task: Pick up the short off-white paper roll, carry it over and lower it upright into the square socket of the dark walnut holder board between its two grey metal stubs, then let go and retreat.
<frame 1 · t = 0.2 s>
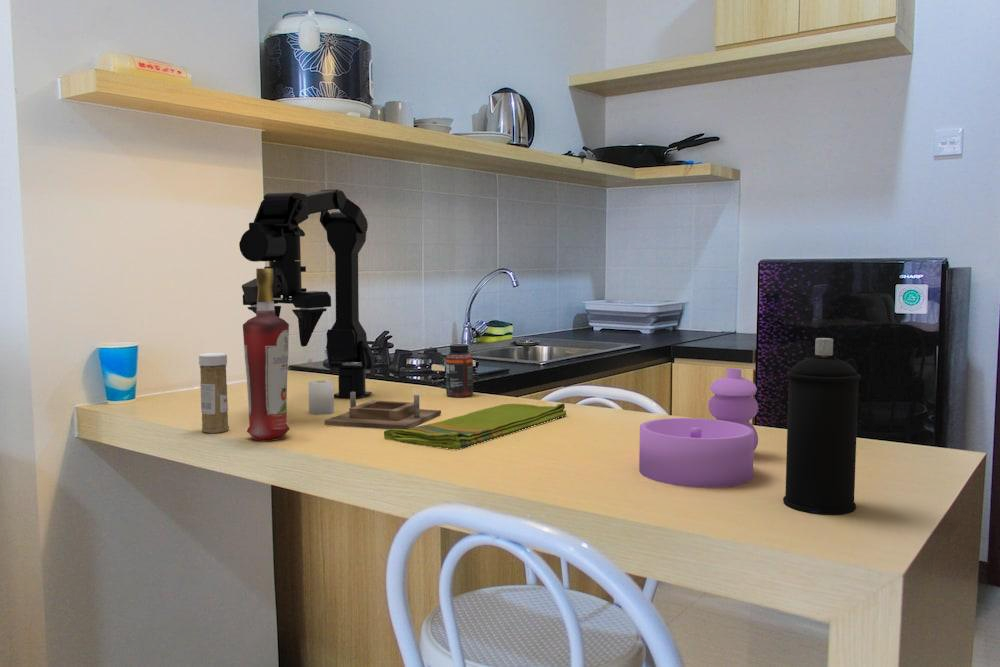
hand: (287, 344, 157), 14 cm above the countertop, fingers open, 9 cm apart
container set: (709, 468, 120), on the countertop
liquor: (268, 438, 140), on the countertop
aerosol can: (819, 506, 101), on the countertop
spice jar: (215, 432, 145), on the countertop
supplement bottle: (459, 396, 184), on the countertop
roll: (321, 412, 164), on the countertop
holder: (384, 419, 156), on the countertop
dish towel: (481, 431, 149), on the countertop
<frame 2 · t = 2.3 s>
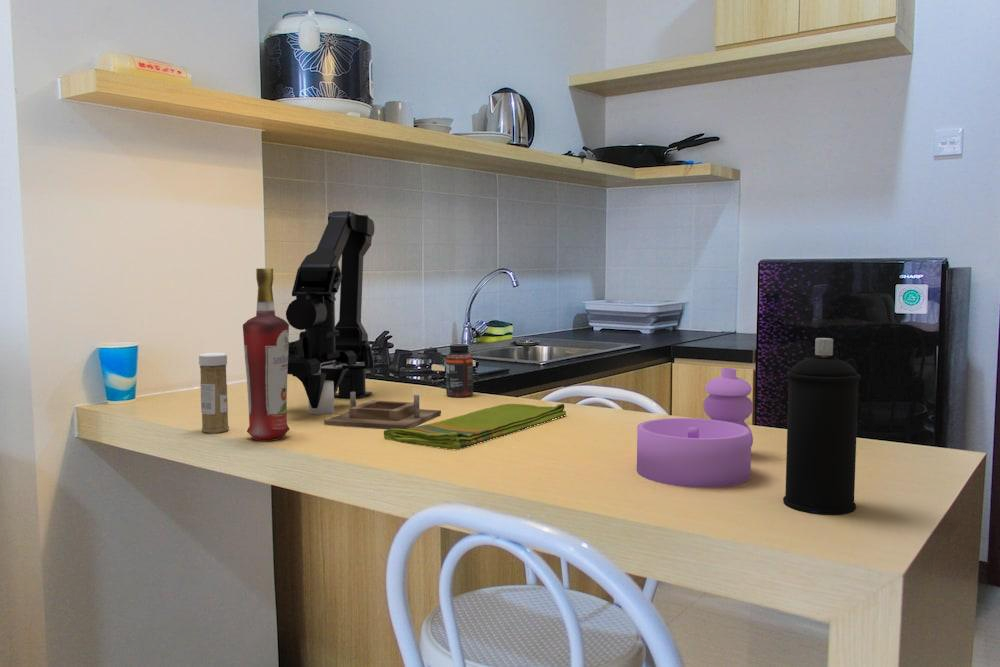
hand: (321, 406, 163), 1 cm above the countertop, fingers closed on roll, 5 cm apart
roll: (321, 412, 164), on the countertop, touching gripper
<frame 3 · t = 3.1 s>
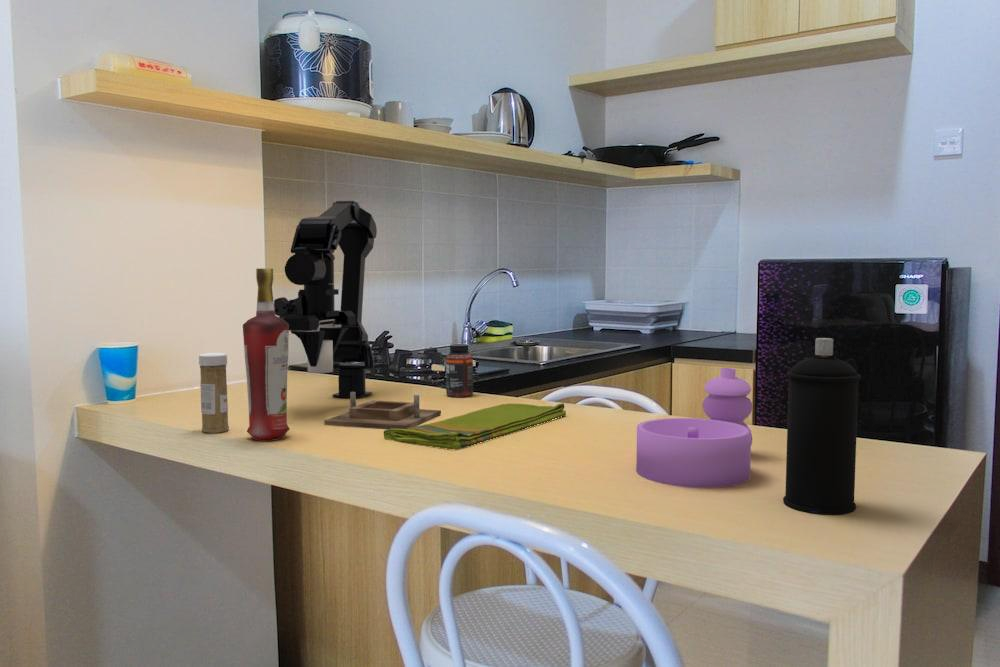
hand: (320, 365, 163), 9 cm above the countertop, fingers closed on roll, 5 cm apart
roll: (320, 371, 163), point 8 cm above the countertop, touching gripper
everything else where it was.
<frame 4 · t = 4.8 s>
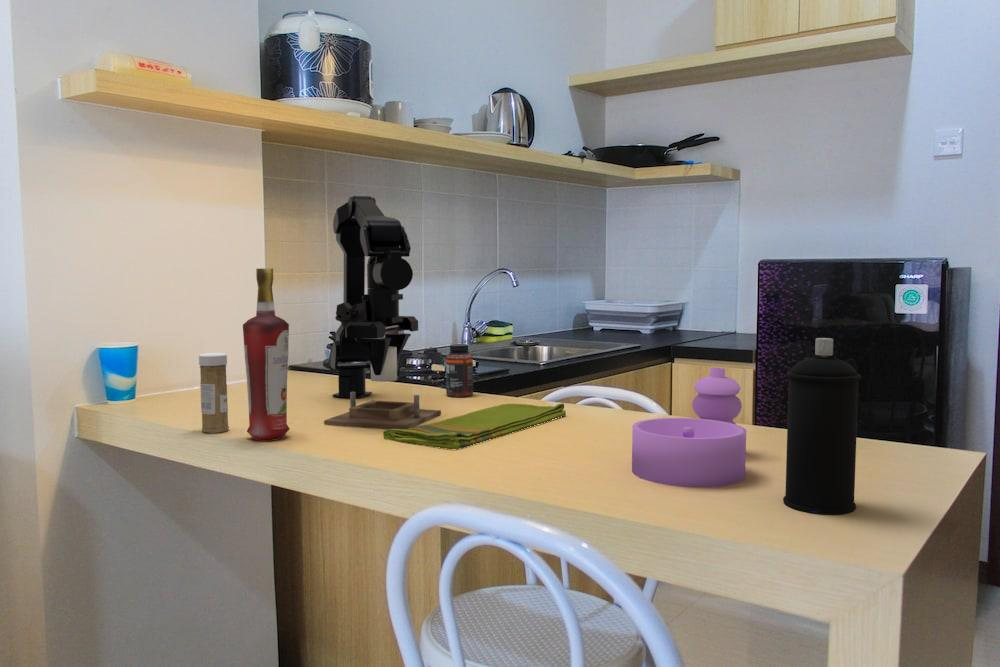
hand: (383, 373, 155), 9 cm above the countertop, fingers closed on roll, 5 cm apart
roll: (383, 379, 156), point 7 cm above the countertop, touching gripper
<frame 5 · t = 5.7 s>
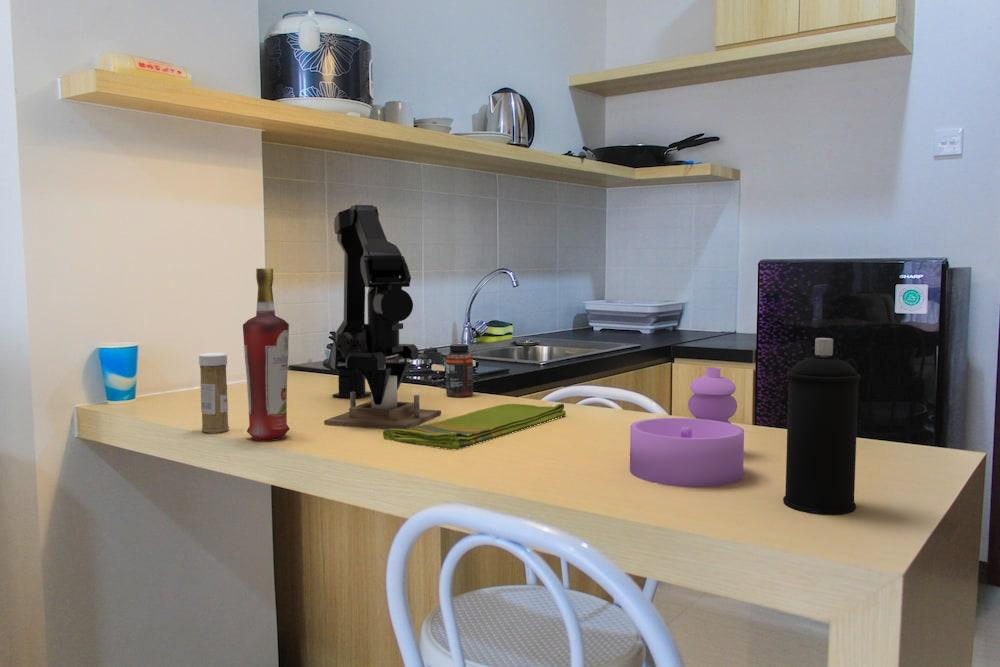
hand: (384, 402, 156), 3 cm above the countertop, fingers closed on roll, 5 cm apart
roll: (384, 408, 156), point 2 cm above the countertop, touching gripper
when the fingers open (3 cm above the countertop, at t = 6.1 s): roll stays where it is, resting on holder.
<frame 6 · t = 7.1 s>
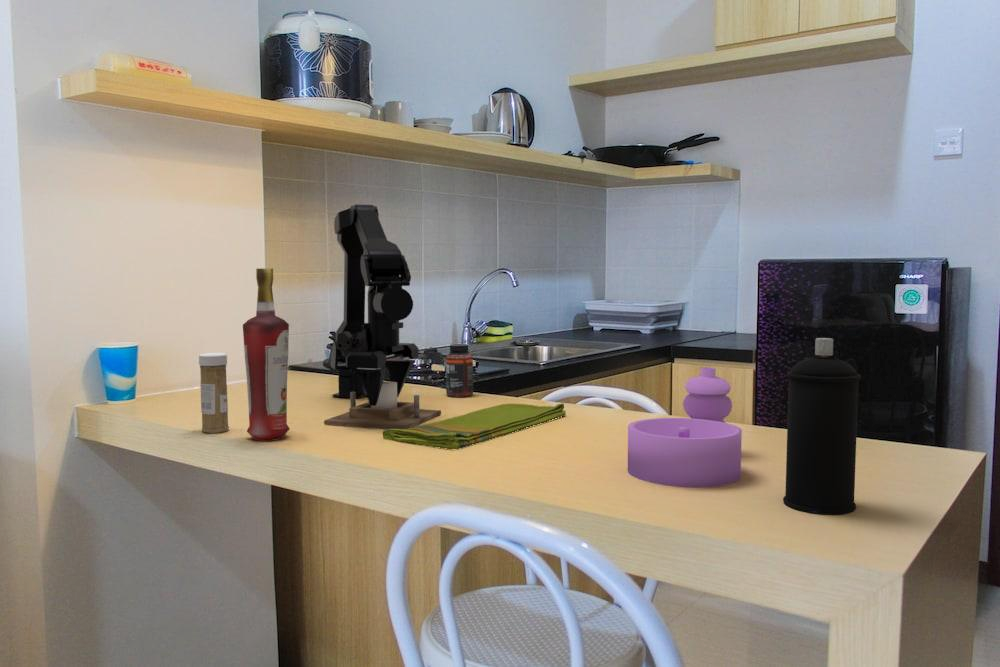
hand: (384, 401, 156), 3 cm above the countertop, fingers open, 9 cm apart
roll: (384, 415, 156), point 1 cm above the countertop, touching holder
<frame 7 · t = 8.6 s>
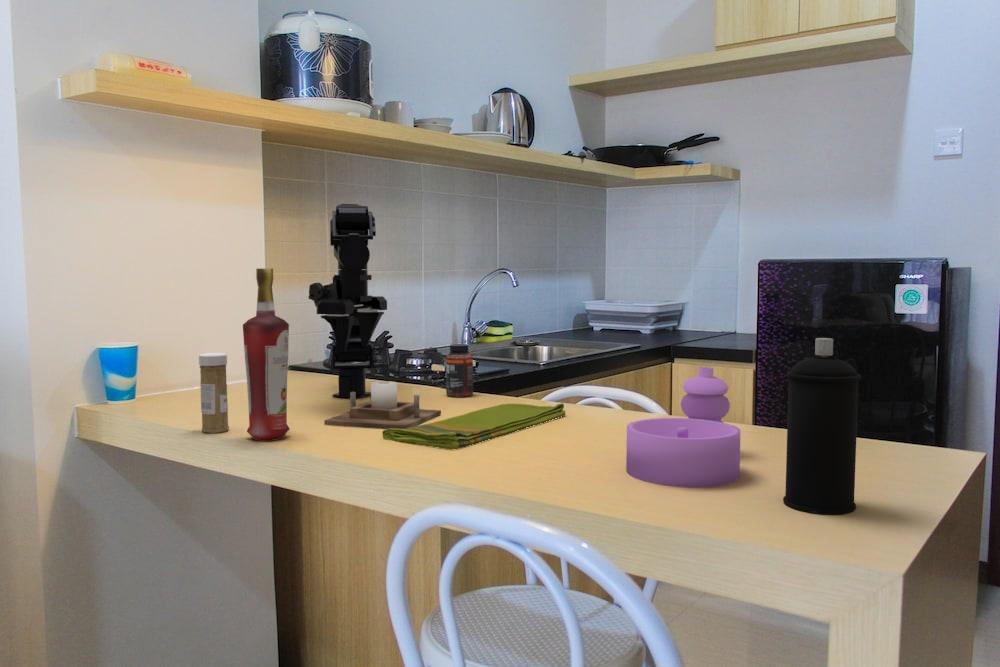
hand: (353, 348, 167), 12 cm above the countertop, fingers open, 9 cm apart
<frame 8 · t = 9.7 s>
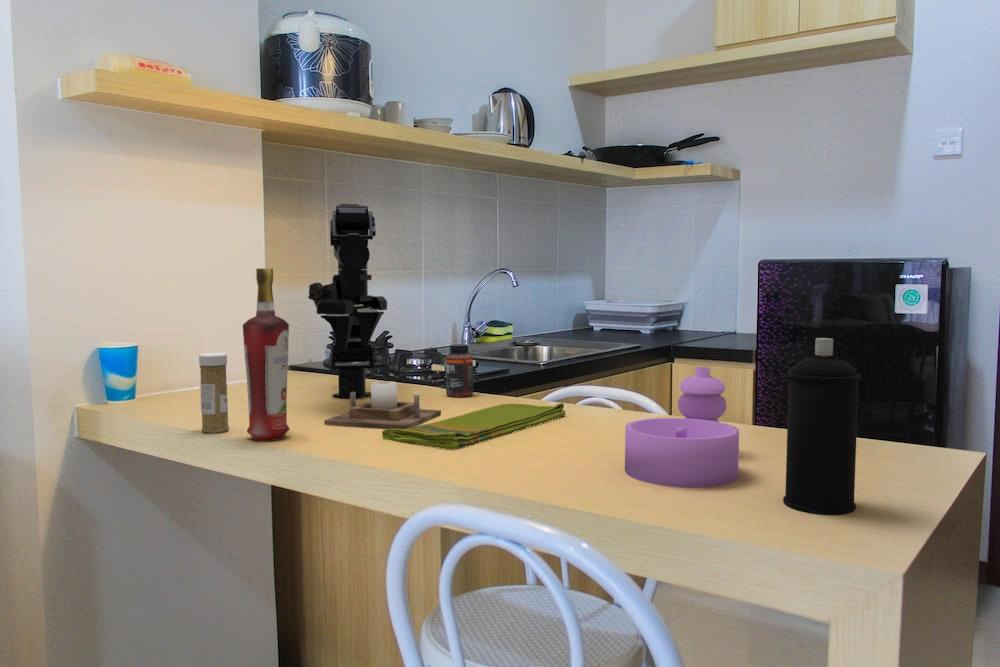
hand: (353, 348, 167), 12 cm above the countertop, fingers open, 9 cm apart
at the end: roll 0.0 cm off-centre on the holder, point 0.8 cm above the holder's base; roll tilted 0°; the gripper is holding nothing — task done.
